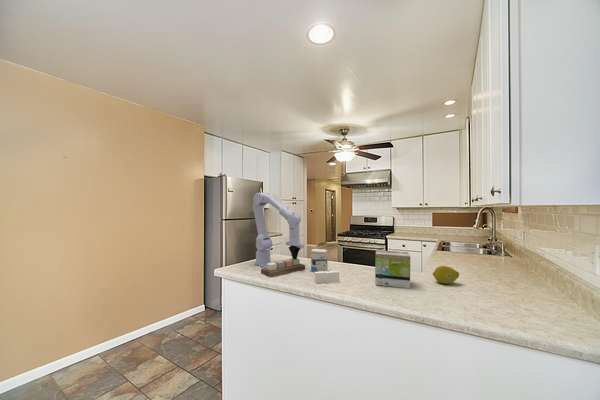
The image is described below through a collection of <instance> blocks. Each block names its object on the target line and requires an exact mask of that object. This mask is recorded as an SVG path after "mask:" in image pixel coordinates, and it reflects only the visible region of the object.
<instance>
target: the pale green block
mask: <svg viewBox="0 0 600 400" xmlns="http://www.w3.org/2000/svg"><path fill="white" fill-rule="evenodd" d="M289 260H292V265H299V264H301V263H300V258H297V259H292V258H289Z"/></svg>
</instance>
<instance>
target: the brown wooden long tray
mask: <svg viewBox="0 0 600 400" xmlns="http://www.w3.org/2000/svg"><path fill="white" fill-rule="evenodd" d="M304 270H306V264H303V263H300V264H299V265H292V266H290V267H285V268H281V269H278V268H277V269H276V270H272V271H270V270H268V269H267V267H263V268H262V267H261V268H260V274H262V275H264V276H266V277H269V278H274V277H278V276H283V275H286V274H292V273H295V272H300V271H304Z"/></svg>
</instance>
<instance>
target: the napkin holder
mask: <svg viewBox="0 0 600 400" xmlns="http://www.w3.org/2000/svg"><path fill="white" fill-rule="evenodd" d="M313 273H314V274H313V276H314V278H313V279H314V283H315V284H331V283H333V284H334V283H340V271H339V270H330V271H328V270H327V271H319V272H313Z"/></svg>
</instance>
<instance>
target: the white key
mask: <svg viewBox="0 0 600 400" xmlns="http://www.w3.org/2000/svg"><path fill="white" fill-rule="evenodd" d="M265 267H266V268H267V269H268V270H270V271H272V270H276V269H277V264H276V263H275V262H273V261H272V262H270V263H267V264H266V266H265Z"/></svg>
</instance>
